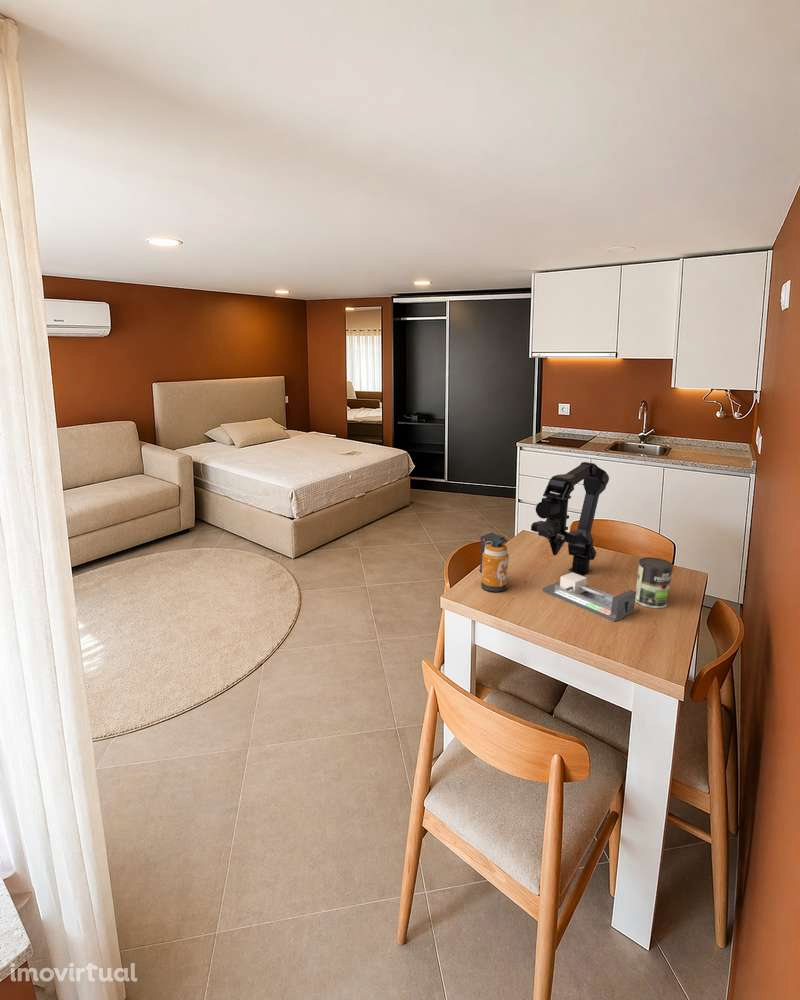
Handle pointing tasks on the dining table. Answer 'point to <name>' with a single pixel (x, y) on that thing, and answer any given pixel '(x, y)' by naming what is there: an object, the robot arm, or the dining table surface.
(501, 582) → the canister
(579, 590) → the white cube with rod
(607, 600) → the gauge track
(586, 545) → the robot arm
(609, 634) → the dining table surface
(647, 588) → the coffee can
